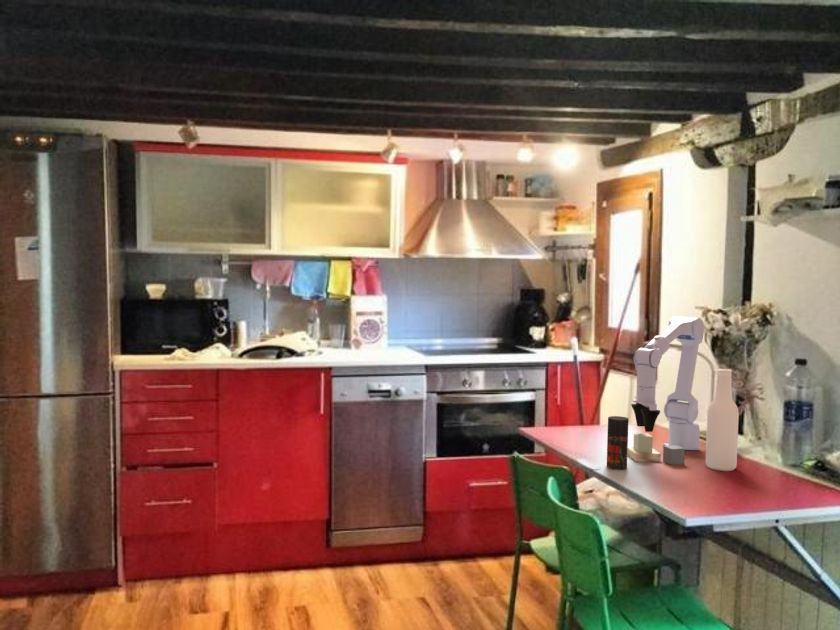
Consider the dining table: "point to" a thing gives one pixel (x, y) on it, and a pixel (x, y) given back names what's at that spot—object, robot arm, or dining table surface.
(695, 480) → the dining table surface
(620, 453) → the deodorant
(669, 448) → the grey cube
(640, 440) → the sage cube
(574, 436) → the dining table surface
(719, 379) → the alcohol
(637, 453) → the birch slab
